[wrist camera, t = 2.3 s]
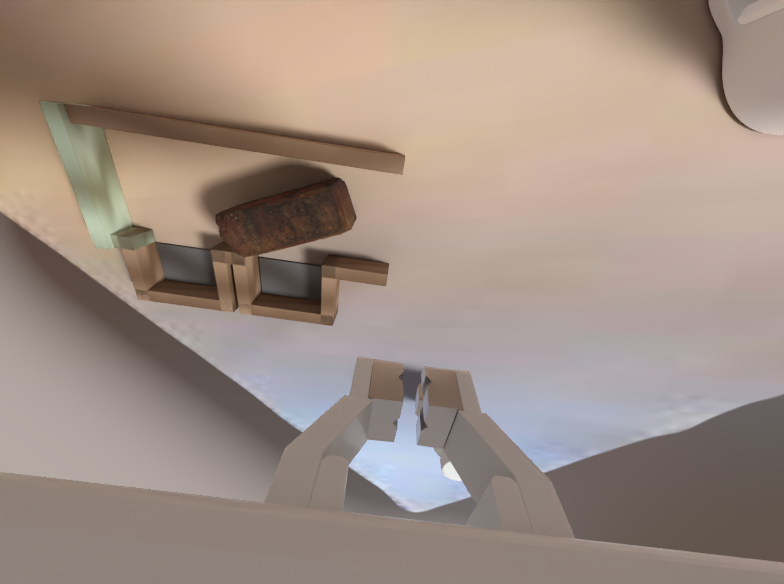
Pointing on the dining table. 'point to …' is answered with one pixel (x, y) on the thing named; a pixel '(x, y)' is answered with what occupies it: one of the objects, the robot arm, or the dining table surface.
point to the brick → (288, 218)
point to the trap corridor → (220, 264)
